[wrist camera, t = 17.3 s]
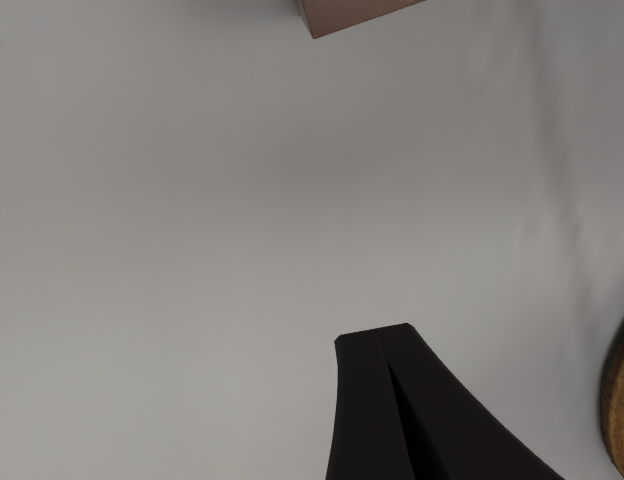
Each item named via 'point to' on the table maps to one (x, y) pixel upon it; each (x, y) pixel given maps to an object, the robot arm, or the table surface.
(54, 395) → the table surface
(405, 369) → the robot arm
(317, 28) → the dial panel
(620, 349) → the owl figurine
